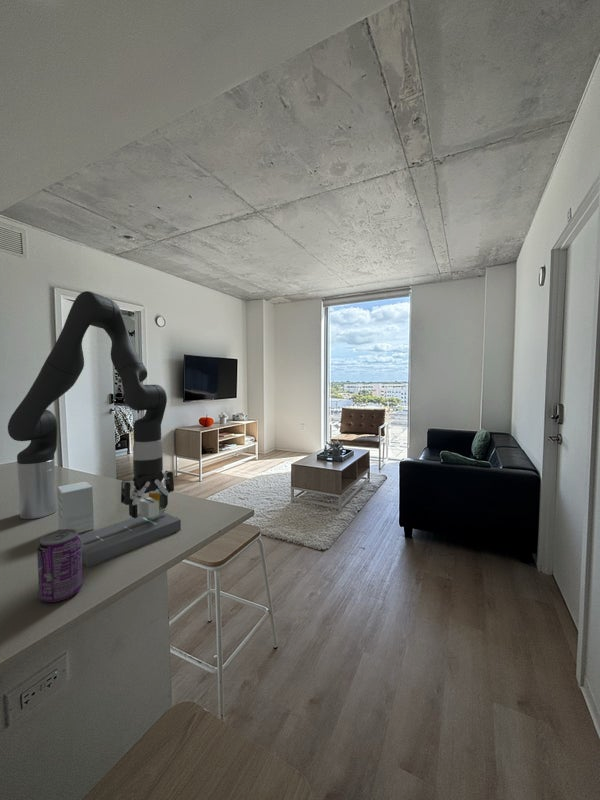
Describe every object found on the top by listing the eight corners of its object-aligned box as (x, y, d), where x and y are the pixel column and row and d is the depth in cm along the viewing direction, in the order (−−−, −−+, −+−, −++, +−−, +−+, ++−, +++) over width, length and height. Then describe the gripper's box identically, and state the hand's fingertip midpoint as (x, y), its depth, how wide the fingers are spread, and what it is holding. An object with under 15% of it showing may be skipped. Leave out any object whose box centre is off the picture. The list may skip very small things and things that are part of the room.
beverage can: (54, 583, 69) (52, 528, 69) (89, 582, 70) (88, 527, 69) (30, 606, 62) (27, 545, 62) (69, 604, 63) (67, 544, 62)
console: (68, 551, 83) (67, 539, 82) (158, 519, 102) (157, 509, 102) (87, 567, 75) (87, 554, 75) (180, 529, 95) (180, 519, 94)
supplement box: (88, 521, 100) (86, 480, 99) (94, 529, 94) (93, 486, 94) (58, 529, 95) (56, 486, 94) (63, 538, 89) (61, 492, 89)
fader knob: (139, 519, 93) (139, 499, 93) (149, 515, 96) (149, 496, 96) (148, 523, 91) (148, 503, 90) (159, 520, 93) (158, 500, 93)
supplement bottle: (160, 513, 106) (159, 484, 105) (145, 512, 107) (144, 482, 106) (170, 507, 111) (169, 479, 111) (155, 505, 112) (155, 478, 112)
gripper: (164, 449, 100) (165, 502, 101) (115, 458, 89) (116, 517, 90) (178, 453, 96) (179, 507, 97) (128, 462, 84) (130, 524, 85)
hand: (149, 512), depth 93 cm, fingers open, 8 cm apart
